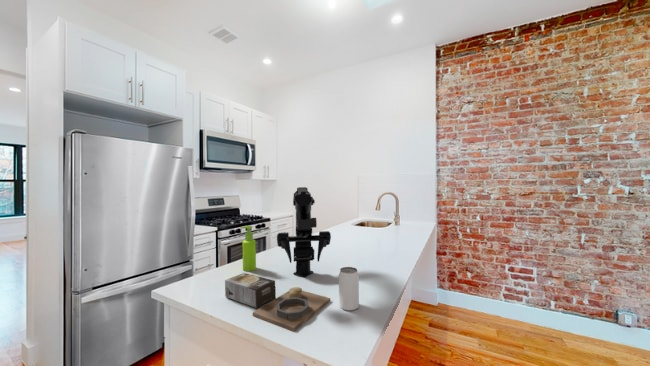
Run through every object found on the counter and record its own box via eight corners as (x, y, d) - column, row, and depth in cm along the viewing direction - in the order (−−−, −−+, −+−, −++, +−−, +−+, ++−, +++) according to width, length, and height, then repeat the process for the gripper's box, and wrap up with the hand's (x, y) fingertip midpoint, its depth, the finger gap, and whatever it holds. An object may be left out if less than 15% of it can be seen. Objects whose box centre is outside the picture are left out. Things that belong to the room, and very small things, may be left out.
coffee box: (244, 271, 98) (276, 279, 89) (244, 288, 98) (276, 297, 90) (224, 279, 90) (256, 289, 82) (224, 297, 90) (257, 309, 82)
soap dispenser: (242, 267, 122) (241, 225, 121) (257, 266, 122) (256, 225, 122) (239, 271, 116) (238, 227, 116) (254, 270, 116) (254, 227, 116)
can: (358, 312, 79) (357, 274, 79) (337, 310, 81) (337, 272, 80) (359, 302, 86) (359, 267, 86) (340, 300, 87) (340, 265, 87)
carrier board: (293, 290, 95) (293, 281, 95) (330, 301, 87) (330, 291, 87) (252, 315, 78) (252, 304, 78) (293, 331, 70) (293, 319, 70)
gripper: (276, 210, 88) (274, 252, 78) (330, 208, 90) (334, 249, 80) (278, 226, 97) (277, 266, 87) (327, 225, 99) (331, 264, 89)
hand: (304, 261), depth 85 cm, fingers open, 9 cm apart
